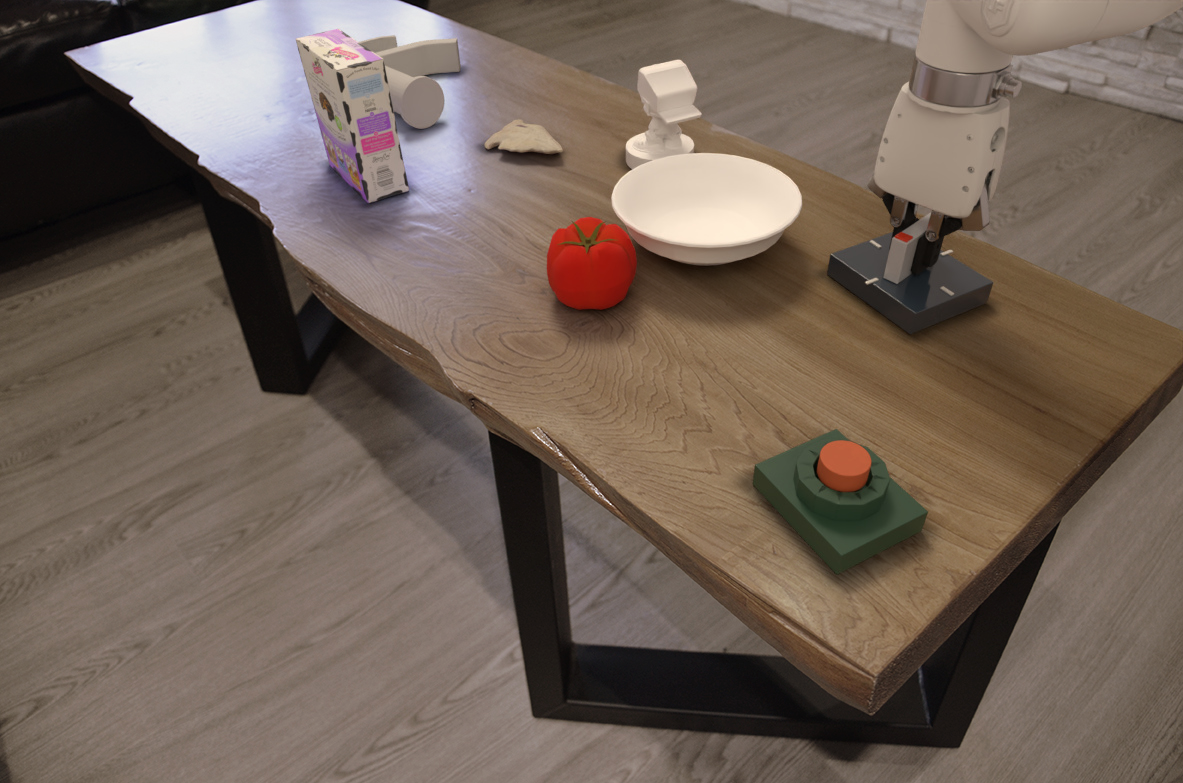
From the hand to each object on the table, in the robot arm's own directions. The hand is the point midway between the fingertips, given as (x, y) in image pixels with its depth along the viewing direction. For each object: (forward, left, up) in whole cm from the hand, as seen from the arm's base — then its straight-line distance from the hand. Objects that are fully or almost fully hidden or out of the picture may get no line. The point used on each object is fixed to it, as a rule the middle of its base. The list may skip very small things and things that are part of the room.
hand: (910, 263), depth 84 cm
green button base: (-19, +25, -3) cm, 32 cm away
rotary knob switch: (0, 0, -3) cm, 3 cm away
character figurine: (+37, +6, -3) cm, 38 cm away
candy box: (+53, +40, -3) cm, 66 cm away
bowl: (+17, +13, -3) cm, 22 cm away
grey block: (0, 0, 0) cm, 0 cm away
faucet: (+77, +25, -3) cm, 81 cm away
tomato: (+15, +28, -3) cm, 32 cm away
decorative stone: (+49, +19, -3) cm, 53 cm away
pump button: (-19, +25, +1) cm, 31 cm away
